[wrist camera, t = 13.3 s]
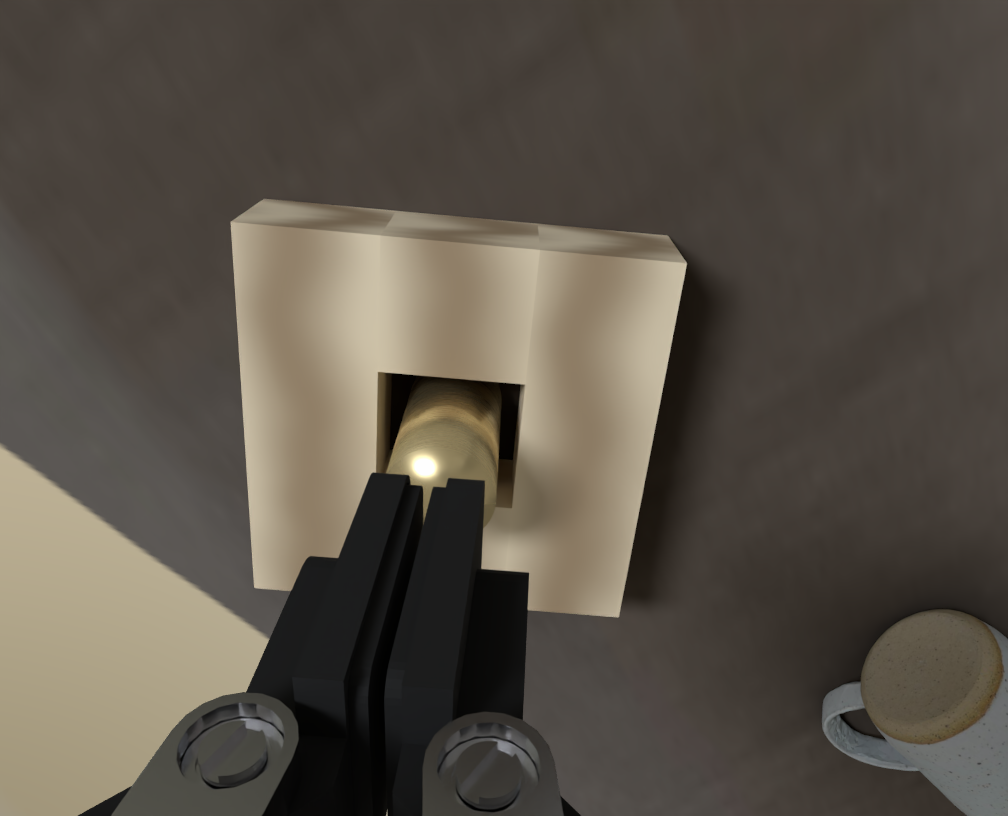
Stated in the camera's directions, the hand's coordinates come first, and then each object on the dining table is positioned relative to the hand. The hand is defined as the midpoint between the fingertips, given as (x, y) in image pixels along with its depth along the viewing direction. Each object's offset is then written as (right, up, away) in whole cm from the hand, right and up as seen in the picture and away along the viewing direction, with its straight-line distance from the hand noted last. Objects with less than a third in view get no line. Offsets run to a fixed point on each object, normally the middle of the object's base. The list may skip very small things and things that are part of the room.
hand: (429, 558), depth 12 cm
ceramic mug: (+23, -12, +30) cm, 39 cm away
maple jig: (-1, +3, +23) cm, 23 cm away
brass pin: (-1, +3, +23) cm, 23 cm away
